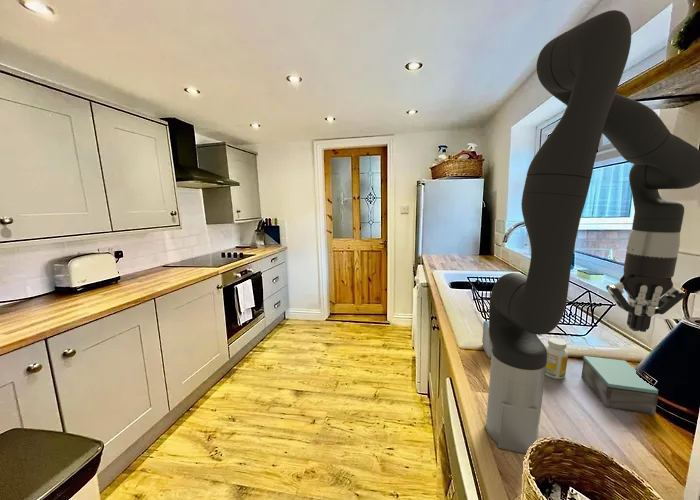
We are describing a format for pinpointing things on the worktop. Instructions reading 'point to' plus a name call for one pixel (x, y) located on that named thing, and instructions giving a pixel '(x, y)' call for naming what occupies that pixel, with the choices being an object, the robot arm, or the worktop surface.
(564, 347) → the supplement bottle
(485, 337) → the medicine box
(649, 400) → the storage box
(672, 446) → the worktop surface
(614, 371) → the lid
